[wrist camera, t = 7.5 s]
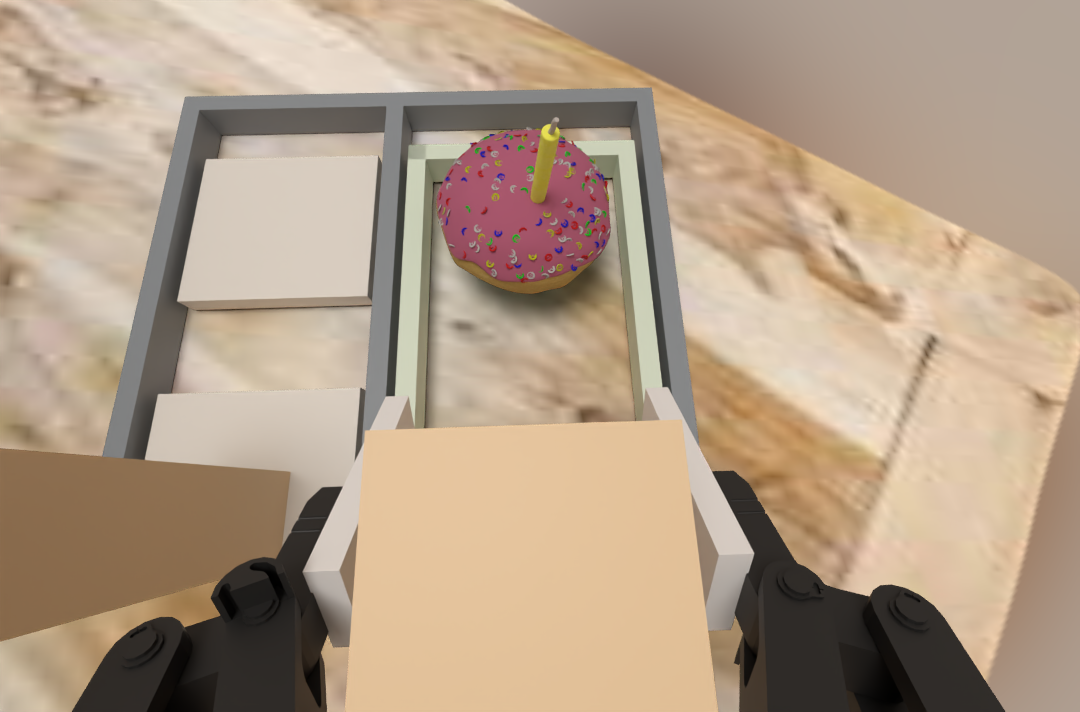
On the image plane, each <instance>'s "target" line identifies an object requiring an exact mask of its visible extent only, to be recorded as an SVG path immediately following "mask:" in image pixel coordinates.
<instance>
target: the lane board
mask: <svg viewBox="0 0 1080 712" xmlns="http://www.w3.org/2000/svg"><path fill="white" fill-rule="evenodd" d="M555 117H557V118H559V122H558V123H557V128H587V127H630V129H631V138H632V140H634V144H635V153H636V161H637V170H638V179H639V187H640V196H641V205H642V214H643V222H644V231H645V240H646V248H647V257H648V266H649V275H650V283H651V292H652V301H653V310H654V318H655V327H656V336H657V344H658V353H659V362H660V371H661V379H662V387H668V388H669V390H670V392H671V394H672V396H673V398H674V400H675V402H676V404H677V406H678V408H679V410H680V411H681V413H682V415H683V417H684V419H685V421H686V423H687V425H688V427H689V429H690V431H691V433H692V435H693V436H694V438H695V440H696V442H697V444H698V446H699V440H698V432H697V425H696V417H695V410H694V402H693V395H692V387H691V380H690V372H689V365H688V357H687V350H686V342H685V335H684V327H683V320H682V312H681V305H680V297H679V290H678V282H677V274H676V267H675V259H674V252H673V244H672V237H671V229H670V222H669V214H668V207H667V199H666V192H665V184H664V177H663V169H662V162H661V154H660V147H659V139H658V132H657V124H656V117H655V109H654V102H653V94H652V88H612V89H560V90H509V91H458V92H406V93H355V94H304V95H252V96H201V97H185V100H184V104H183V108H182V113H181V117H180V121H179V126H178V130H177V134H176V139H175V143H174V147H173V152H172V156H171V160H170V165H169V169H168V173H167V178H166V182H165V186H164V191H163V195H162V199H161V204H160V208H159V212H158V217H157V221H156V225H155V230H154V234H153V238H152V243H151V247H150V251H149V256H148V260H147V264H146V269H145V273H144V277H143V282H142V286H141V290H140V295H139V299H138V304H137V308H136V312H135V317H134V321H133V325H132V330H131V334H130V338H129V343H128V347H127V351H126V356H125V360H124V364H123V369H122V373H121V377H120V382H119V386H118V390H117V395H116V399H115V403H114V408H113V412H112V416H111V421H110V425H109V429H108V434H107V438H106V442H105V447H104V451H103V455H102V457H114V458H126V459H139V460H145V456H146V451H147V446H148V441H149V437H150V432H151V427H152V422H153V417H154V412H155V407H156V402H157V397H158V394H171V390H172V385H173V380H174V374H175V369H176V364H177V359H178V354H179V349H180V344H181V339H182V334H183V329H184V324H185V318H186V313H187V308H188V307H187V306H185V305H183V304H181V303H179V302H177V299H178V295H179V290H180V285H181V280H182V275H183V270H184V265H185V260H186V255H187V250H188V246H189V241H190V236H191V231H192V226H193V221H194V216H195V211H196V206H197V201H198V197H199V192H200V187H201V182H202V177H203V172H204V167H205V162H206V159H217V155H218V150H219V145H220V140H221V135H257V134H304V133H351V132H385V134H384V147H383V161H382V174H381V188H380V202H379V215H378V229H377V243H376V256H375V270H374V284H373V297H372V311H371V324H370V338H369V352H368V365H367V379H366V393H365V406H364V420H363V433H362V446H363V443H364V437H365V430H370V429H371V427H372V425H373V422H374V420H375V418H376V416H377V414H378V412H379V410H380V408H381V406H382V403H383V401H384V399H385V397H388V396H395V386H396V367H397V349H398V331H399V313H400V294H401V276H402V258H403V239H404V221H405V203H406V184H407V166H408V148H409V145H411V141H412V131H445V130H493V129H526V128H527V127H530V128H532V129H536V128H543V127H544V126H545V125H548V124H551V122H552V120H553V119H554V118H555ZM361 448H362V447H361ZM699 448H700V447H699Z"/></svg>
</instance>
